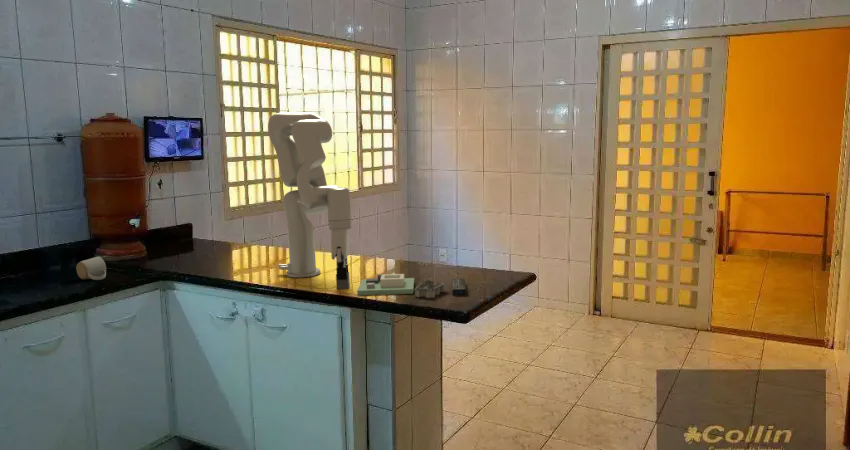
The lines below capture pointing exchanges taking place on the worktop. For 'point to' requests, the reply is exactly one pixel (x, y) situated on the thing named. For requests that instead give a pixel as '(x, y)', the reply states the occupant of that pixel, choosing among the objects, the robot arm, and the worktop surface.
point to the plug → (343, 281)
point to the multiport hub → (458, 287)
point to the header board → (386, 285)
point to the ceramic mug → (92, 269)
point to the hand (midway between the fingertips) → (342, 277)
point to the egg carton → (429, 288)
